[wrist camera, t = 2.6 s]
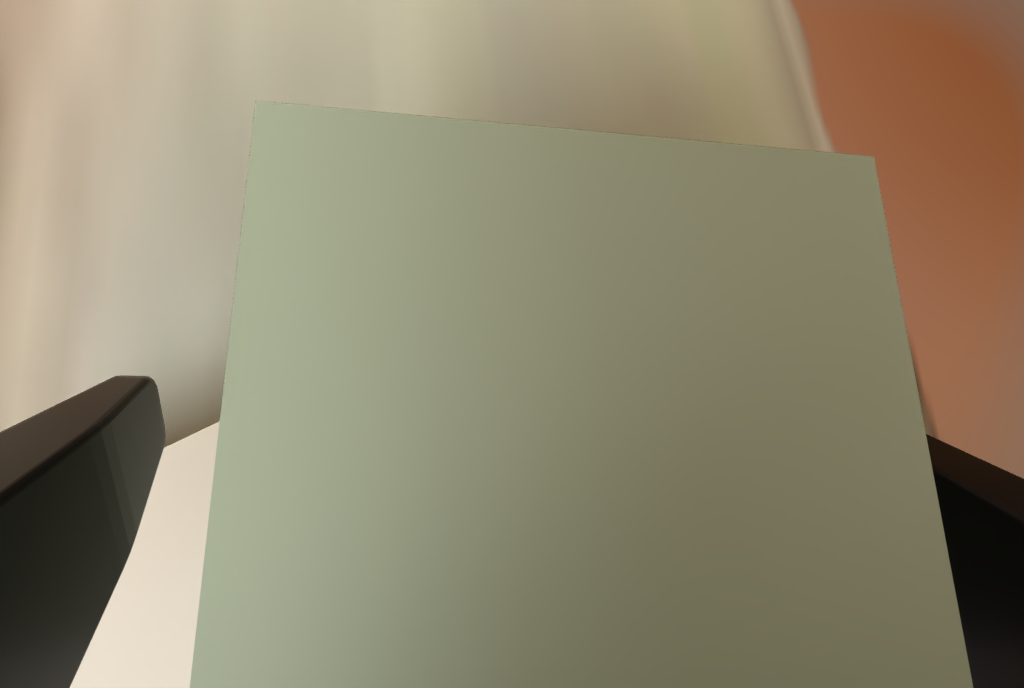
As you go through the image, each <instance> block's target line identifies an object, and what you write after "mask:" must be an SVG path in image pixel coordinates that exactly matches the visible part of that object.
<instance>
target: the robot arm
mask: <svg viewBox="0 0 1024 688" xmlns="http://www.w3.org/2000/svg"><path fill="white" fill-rule="evenodd" d="M926 437H927V443H928V448H929V453H930V459H931V464H932V469H933V475H934V480H935V485H936V491H937V496H938V502H939V507H940V512H941V518H942V523H943V528H944V534H945V539H946V544H947V550H948V555H949V560H950V566H951V571H952V576H953V582H954V587H955V592H956V598H957V603H958V608H959V614H960V619H961V624H962V630H963V635H964V640H965V646H966V651H967V656H968V662H969V667H970V672H971V678H972V683H973V688H1024V479H1023V478H1021V477H1018V476H1016V475H1014V474H1012V473H1010V472H1008V471H1005V470H1003V469H1001V468H999V467H997V466H994V465H992V464H990V463H988V462H986V461H983V460H981V459H979V458H977V457H975V456H972V455H970V454H968V453H966V452H964V451H962V450H960V449H958V448H955V447H953V446H951V445H949V444H947V443H945V442H942V441H940V440H938V439H936V438H934V437H931V436H929V435H927V434H926ZM164 444H165V426H164V421H163V415H162V410H161V405H160V399H159V394H158V389H157V385H156V383H155V381H154V380H153V379H152V378H150V377H148V376H115V377H113V378H110V379H108V380H106V381H104V382H102V383H100V384H98V385H96V386H94V387H92V388H90V389H88V390H86V391H84V392H82V393H80V394H78V395H76V396H74V397H71V398H69V399H67V400H65V401H63V402H61V403H59V404H57V405H55V406H53V407H51V408H49V409H47V410H45V411H43V412H41V413H39V414H37V415H35V416H32V417H30V418H28V419H26V420H24V421H22V422H20V423H18V424H16V425H14V426H12V427H10V428H8V429H6V430H4V431H2V432H0V688H70V686H71V684H72V682H73V680H74V677H75V675H76V673H77V671H78V669H79V666H80V664H81V662H82V660H83V658H84V655H85V653H86V651H87V649H88V647H89V644H90V642H91V640H92V638H93V636H94V633H95V631H96V629H97V627H98V625H99V622H100V620H101V618H102V616H103V614H104V611H105V609H106V607H107V605H108V602H109V600H110V598H111V596H112V594H113V591H114V589H115V587H116V585H117V583H118V580H119V578H120V576H121V574H122V572H123V569H124V567H125V565H126V562H127V560H128V557H129V555H130V553H131V550H132V547H133V544H134V541H135V538H136V535H137V532H138V529H139V526H140V523H141V520H142V516H143V513H144V510H145V507H146V504H147V500H148V497H149V494H150V491H151V487H152V484H153V481H154V478H155V475H156V471H157V468H158V465H159V462H160V459H161V455H162V452H163V449H164Z"/></svg>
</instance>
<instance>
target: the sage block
mask: <svg viewBox="0 0 1024 688" xmlns="http://www.w3.org/2000/svg"><path fill="white" fill-rule="evenodd" d="M190 688H973V683H972V678H971V672H970V667H969V662H968V656H967V651H966V646H965V640H964V635H963V630H962V624H961V619H960V614H959V608H958V603H957V598H956V592H955V587H954V582H953V576H952V571H951V566H950V560H949V555H948V550H947V544H946V539H945V534H944V528H943V523H942V518H941V512H940V507H939V502H938V496H937V491H936V485H935V480H934V475H933V469H932V464H931V459H930V453H929V448H928V443H927V437H926V432H925V427H924V421H923V416H922V411H921V405H920V400H919V395H918V389H917V384H916V379H915V373H914V368H913V363H912V357H911V352H910V347H909V341H908V336H907V331H906V325H905V320H904V315H903V309H902V304H901V298H900V293H899V288H898V282H897V277H896V273H895V267H894V261H893V256H892V250H891V245H890V240H889V234H888V229H887V224H886V218H885V213H884V209H883V202H882V197H881V192H880V186H879V181H878V176H877V170H876V165H875V160H874V156H863V155H852V154H841V153H830V152H819V151H808V150H797V149H786V148H775V147H764V146H753V145H742V144H731V143H720V142H709V141H697V140H686V139H675V138H664V137H653V136H642V135H631V134H620V133H609V132H598V131H587V130H576V129H565V128H554V127H542V126H531V125H520V124H509V123H498V122H487V121H476V120H465V119H454V118H443V117H432V116H421V115H410V114H398V113H387V112H376V111H365V110H354V109H343V108H332V107H321V106H310V105H299V104H288V103H277V102H266V101H255V110H254V119H253V128H252V137H251V146H250V155H249V164H248V173H247V182H246V190H245V199H244V208H243V217H242V226H241V235H240V244H239V253H238V262H237V271H236V279H235V288H234V297H233V306H232V315H231V324H230V333H229V342H228V351H227V360H226V368H225V377H224V386H223V395H222V404H221V413H220V422H219V431H218V440H217V449H216V457H215V466H214V475H213V484H212V493H211V502H210V511H209V520H208V529H207V538H206V546H205V555H204V564H203V573H202V582H201V591H200V600H199V609H198V618H197V627H196V635H195V644H194V653H193V662H192V671H191V680H190Z"/></svg>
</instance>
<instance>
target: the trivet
mask: <svg viewBox="0 0 1024 688" xmlns="http://www.w3.org/2000/svg"><path fill="white" fill-rule="evenodd" d="M219 422H220V421H219ZM219 422H217V423H215V424H213V425H211V426H209V427H206V428H204V429H202V430H200V431H198V432H196V433H194V434H192V435H190V436H188V437H186V438H183V439H181V440H179V441H177V442H175V443H173V444H171V445H169V446H167V447H165V448H164V449H163V452H162V455H161V459H160V462H159V465H158V468H157V471H156V475H155V478H154V481H153V484H152V487H151V491H150V494H149V497H148V500H147V504H146V507H145V510H144V513H143V516H142V520H141V523H140V526H139V529H138V532H137V535H136V538H135V541H134V544H133V547H132V550H131V553H130V555H129V557H128V560H127V562H126V565H125V567H124V569H123V572H122V574H121V576H120V578H119V580H118V583H117V585H116V587H115V589H114V591H113V594H112V596H111V598H110V600H109V602H108V605H107V607H106V609H105V611H104V614H103V616H102V618H101V620H100V622H99V625H98V627H97V629H96V631H95V633H94V636H93V638H92V640H91V642H90V644H89V647H88V649H87V651H86V653H85V655H84V658H83V660H82V662H81V664H80V666H79V669H78V671H77V673H76V675H75V677H74V680H73V682H72V684H71V686H70V688H190V680H191V671H192V662H193V653H194V644H195V635H196V627H197V618H198V609H199V600H200V591H201V582H202V573H203V564H204V555H205V546H206V538H207V529H208V520H209V511H210V502H211V493H212V484H213V475H214V466H215V457H216V449H217V440H218V431H219Z"/></svg>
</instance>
